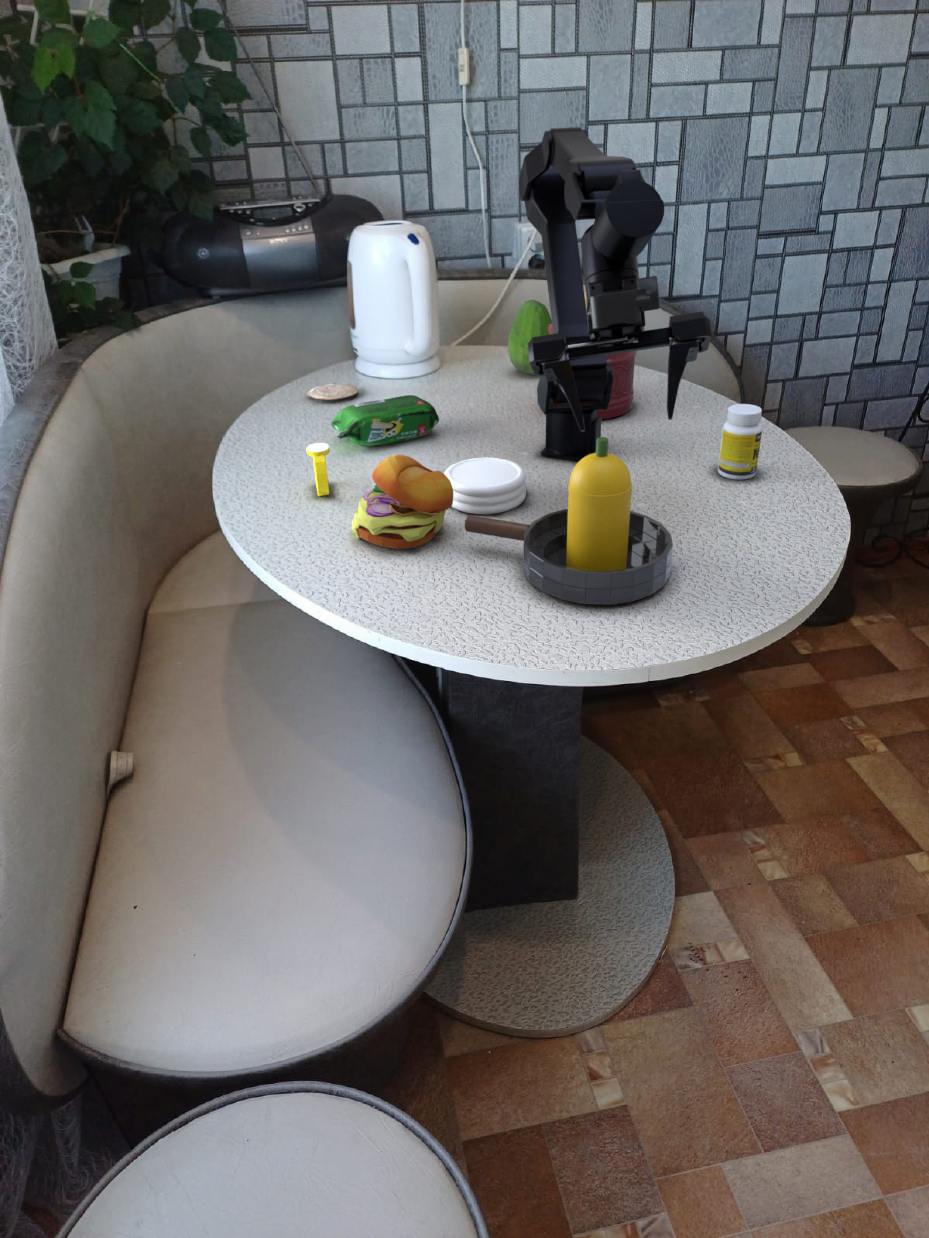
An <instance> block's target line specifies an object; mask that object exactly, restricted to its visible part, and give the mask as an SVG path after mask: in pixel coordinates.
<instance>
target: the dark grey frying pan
mask: <svg viewBox="0 0 929 1238" xmlns="http://www.w3.org/2000/svg"><path fill="white" fill-rule="evenodd" d="M567 524H568V508H563V509H560V510H556V511H553V512H549V513H546V514H544V515H542V516H540V517H539V518H537V519H536V520H533V521H532V522H531V523H530V524H529V525H530V526H529V527H528V528H527V529H526V530H525V532H524V541H523V554H522V555H523V557H522V558H523V559H522V560H523V561H522V562H523V563H522V564H523V573H524V576H525V577H526V578H527V580H528V582H529V583H530V584H531V585H533V586H534V587H535V588H537V589H538V590H540V592H542V593H545V594H547V595H550V596H552V597H553V598H554V597H555V598H557V599H559V600H562V601H567V602H573V603H577V604H581V605H582V604H584V605H607V606H608V605H618V604H625V603H633V602H636V601H638V600H640V599H643V598H646V597H649V596H652V595H654V593H656V592H657V591H658V590H660V589H662V588H663V587H664V586H665V585H666V583H667V581H668V579H669V578H670V575H671V570H672V569H671V568H672V560H673V559H672V557H673V547H674V544H673V538H672V534H671V532H670V531H669V530H668V529H667V528H666V527H665V525H664V524H663V523H661V522H659V521H657V520H655V519H654V518H652V517H650V516H649V515H645V514H642V513H639V512H636V511H632V510H630V521H629V535H628V550H627V564H626V569H623V570H615V571H586V570H581V569H575V568H569V567H566V556H567Z"/></svg>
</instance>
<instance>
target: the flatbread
mask: <svg viewBox="0 0 929 1238" xmlns="http://www.w3.org/2000/svg"><path fill="white" fill-rule="evenodd" d="M359 392H360V389H359V387H357V385H354V384H352V383H341V382H339V383H336V382H330V383H327V384H323V385H320V386H315V387H312V388H311V389H310V390H309V391H308V392H307V394H306V395H307V396H308V397H311V398H312V399H315V400H325V401H333V400H341V399H346V398H350V397H352V396H355V395H356V394H358V393H359Z"/></svg>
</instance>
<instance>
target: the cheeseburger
mask: <svg viewBox="0 0 929 1238" xmlns="http://www.w3.org/2000/svg"><path fill="white" fill-rule="evenodd" d="M444 473H445V472H442V471H441V470H432V469H429V468H428V467H426V466H424V465H423V464H422V463H420V462H419V461H417V460H416V459H415V458H412V457H410V456H408V455H404V454H393V455H389V456H388V457H386V458H384V459H383V460H382V461H381V462H379V463H378V464H377V466H376V467H375V468H374V469H373V471H372V474H371V478H372V481H373V482H374V484H375V485H374V487H373V489H371V490H368V491H367V492H365V493H364V495H362V497H361V499H360V500H359V502H358V508H357V509H356V511H355V513H354V514H353V515H354V518H353V519H352V522H351V531H352V533H353V534H354V536H355V537H356V539H358V540H359V539H362V540H364V541H366V542H367V543H369V544H373V545H377V546H380V547H385V548H390V549H395V550H401V549H414V548H416V547H418V546H421V545H424V544H426V543H428V542H429V541H431V540H432V539H433V538H435V536H436V534H437V533H439V531H440V530H441V529H442V526H443V524H444V522H445V514H446V511H447V510H449V509H450V508H452V507H451V506H452V504H453V488H452V485H451V481H450V480H449V479H448V477H447V476H446V475H445V474H444Z"/></svg>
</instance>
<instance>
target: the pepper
mask: <svg viewBox="0 0 929 1238" xmlns="http://www.w3.org/2000/svg"><path fill="white" fill-rule="evenodd" d="M608 450H609V438H608V437H605V436H601V437H599V438H597V443H596V452H595V453H593V454H590V455H587V456H585V457H584V458H582V459H581V460H580V461H577V463H576V464H575V466H574V467H573V469H572V471H571V474H570V477H569V481H568V490H567V491H568V495H567V497H568V498H567V509H568V524H567V556H566V567H569V568H575V569H581V570H586V571H615V570H623V569H626V564H627V550H628V535H629V521H630V511H631V504H632V491H633V490H632V488H633V483H632V477H631V473H630V471H629V468H628V467H627V465H626V464H625V462H624V460H622V459H621V458H619V457H618V456H617V455H615V454H612V453H609V452H608Z"/></svg>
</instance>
